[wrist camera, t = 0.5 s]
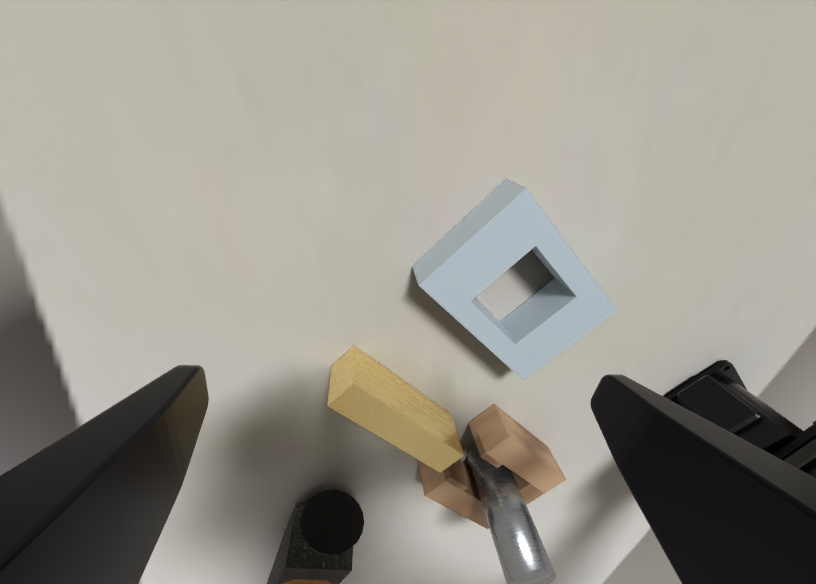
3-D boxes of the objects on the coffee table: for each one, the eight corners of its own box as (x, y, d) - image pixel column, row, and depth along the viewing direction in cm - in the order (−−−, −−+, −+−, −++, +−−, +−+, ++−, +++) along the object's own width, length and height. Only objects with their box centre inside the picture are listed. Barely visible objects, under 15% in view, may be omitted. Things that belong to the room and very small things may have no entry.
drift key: (451, 415, 26) (464, 455, 23) (430, 431, 27) (440, 472, 24) (354, 345, 22) (353, 383, 19) (331, 366, 23) (327, 406, 20)
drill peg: (508, 450, 29) (564, 576, 21) (481, 469, 30) (525, 597, 22) (487, 435, 28) (538, 563, 20) (460, 455, 29) (498, 586, 21)
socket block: (547, 446, 30) (566, 479, 27) (476, 493, 32) (487, 528, 29) (494, 403, 26) (509, 436, 24) (418, 459, 28) (424, 495, 26)
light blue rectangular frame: (592, 291, 22) (617, 310, 20) (508, 355, 24) (523, 380, 22) (506, 178, 18) (526, 187, 16) (412, 266, 20) (418, 285, 18)
